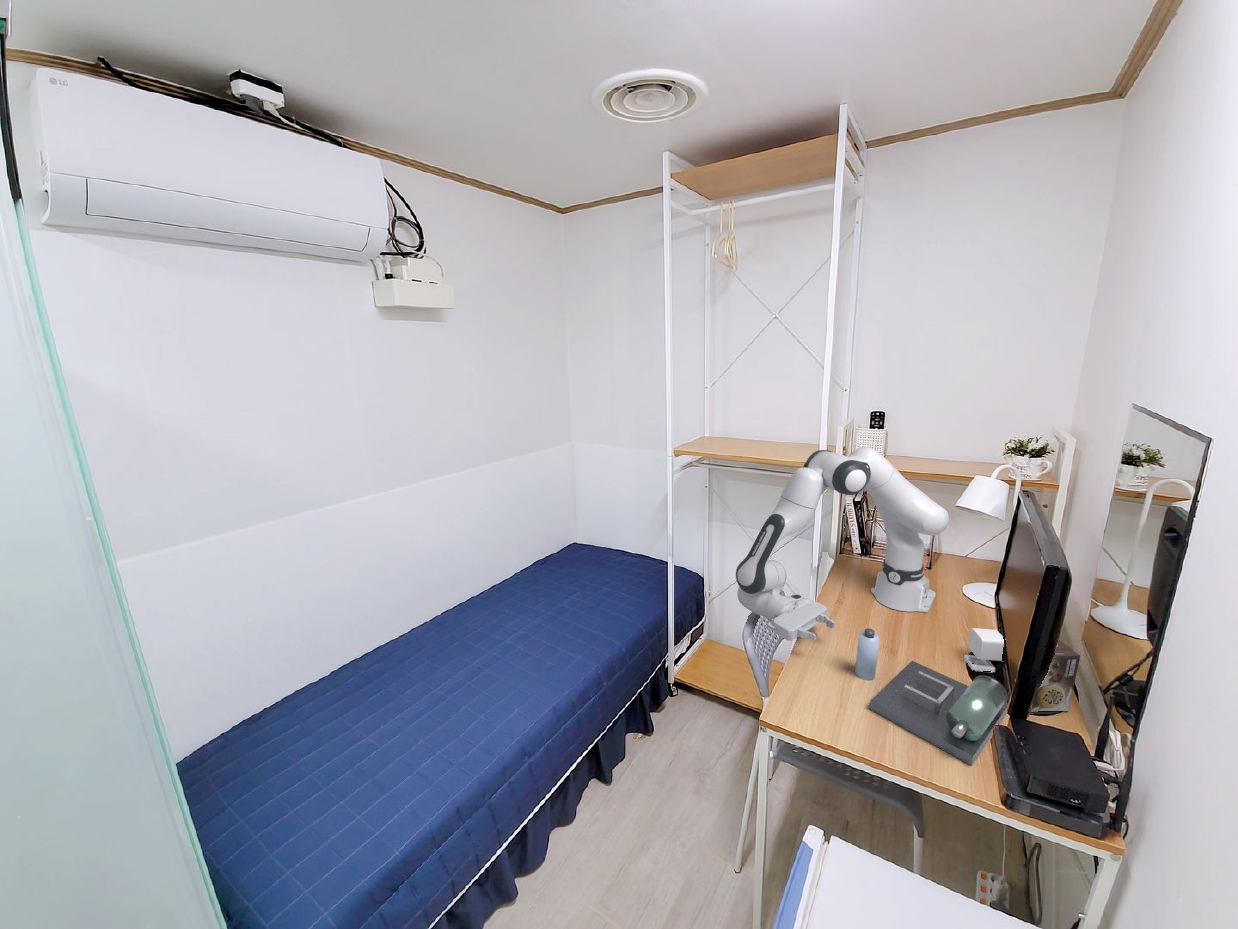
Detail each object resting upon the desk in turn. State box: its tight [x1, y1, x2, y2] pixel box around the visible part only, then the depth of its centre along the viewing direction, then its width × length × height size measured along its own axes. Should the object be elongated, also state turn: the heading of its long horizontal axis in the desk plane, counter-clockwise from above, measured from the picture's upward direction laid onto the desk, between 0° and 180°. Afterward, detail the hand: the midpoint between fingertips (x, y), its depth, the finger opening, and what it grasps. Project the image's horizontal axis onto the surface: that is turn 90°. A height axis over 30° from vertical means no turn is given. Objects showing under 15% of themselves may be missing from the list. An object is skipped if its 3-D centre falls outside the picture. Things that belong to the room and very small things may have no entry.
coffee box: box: [1029, 639, 1081, 713], centre depth 122 cm, size 9×6×16 cm
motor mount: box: [868, 660, 1009, 767], centre depth 121 cm, size 24×22×10 cm
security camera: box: [963, 627, 1004, 673], centre depth 137 cm, size 6×7×10 cm
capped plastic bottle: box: [854, 628, 880, 681], centre depth 134 cm, size 5×5×14 cm
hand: (825, 631), depth 143 cm, fingers open, 8 cm apart
